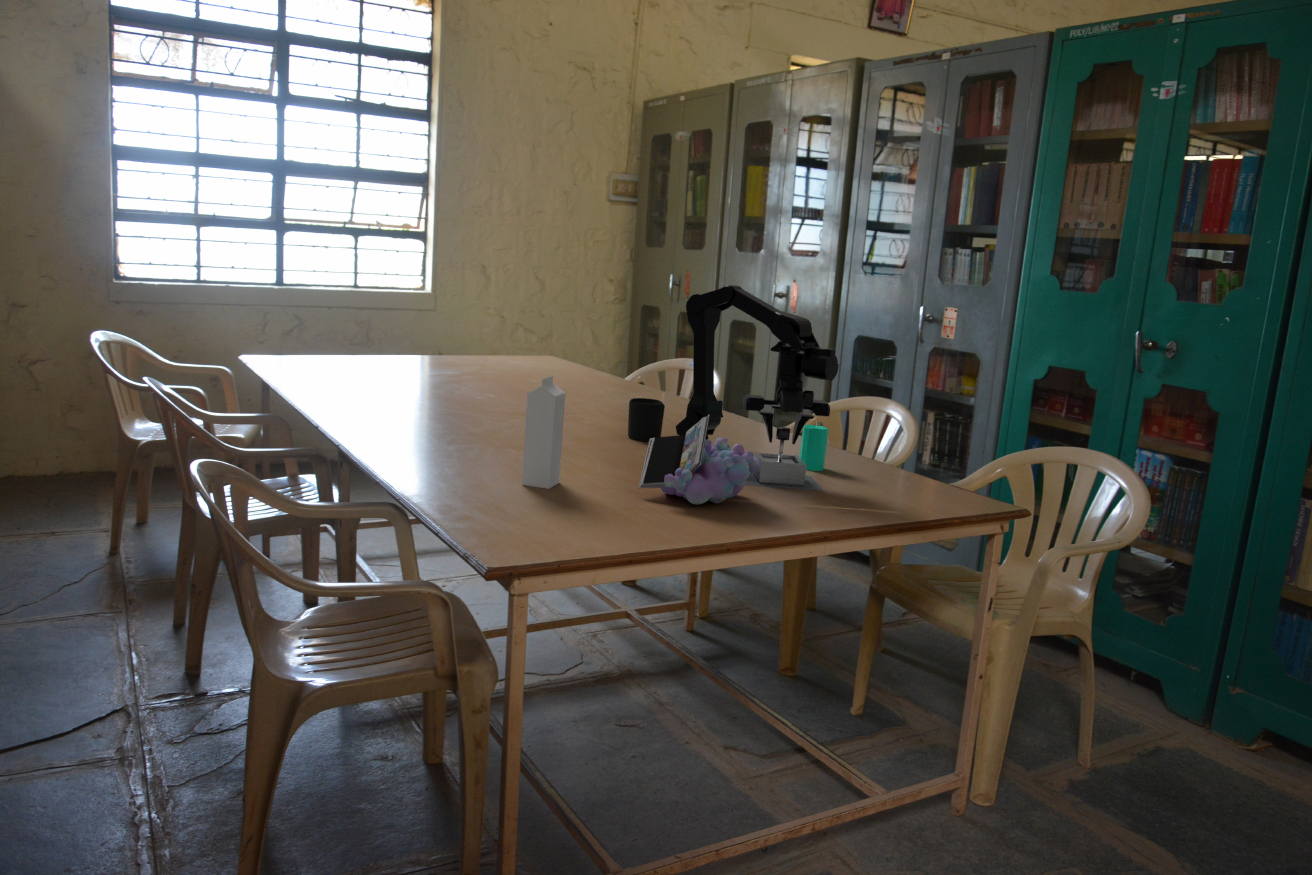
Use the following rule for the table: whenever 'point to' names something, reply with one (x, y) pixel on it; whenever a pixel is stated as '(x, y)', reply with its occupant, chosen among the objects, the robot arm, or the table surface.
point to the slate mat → (808, 485)
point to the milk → (543, 435)
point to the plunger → (781, 445)
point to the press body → (781, 471)
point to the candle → (814, 447)
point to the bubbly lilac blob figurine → (697, 466)
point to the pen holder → (645, 418)
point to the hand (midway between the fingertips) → (781, 443)
